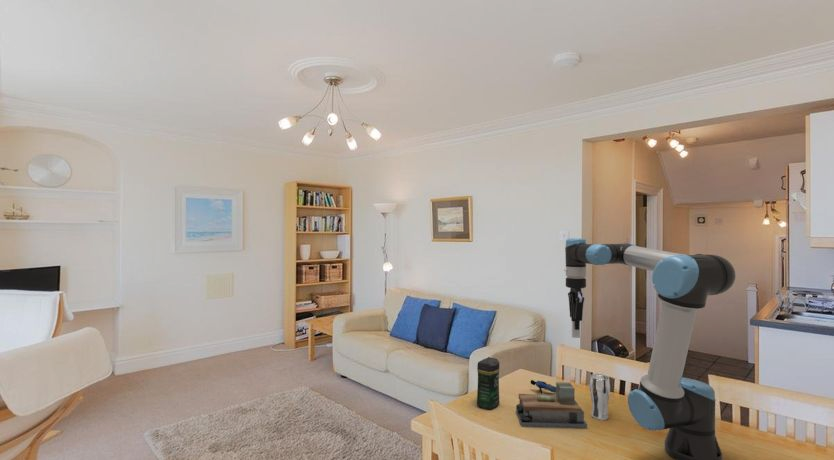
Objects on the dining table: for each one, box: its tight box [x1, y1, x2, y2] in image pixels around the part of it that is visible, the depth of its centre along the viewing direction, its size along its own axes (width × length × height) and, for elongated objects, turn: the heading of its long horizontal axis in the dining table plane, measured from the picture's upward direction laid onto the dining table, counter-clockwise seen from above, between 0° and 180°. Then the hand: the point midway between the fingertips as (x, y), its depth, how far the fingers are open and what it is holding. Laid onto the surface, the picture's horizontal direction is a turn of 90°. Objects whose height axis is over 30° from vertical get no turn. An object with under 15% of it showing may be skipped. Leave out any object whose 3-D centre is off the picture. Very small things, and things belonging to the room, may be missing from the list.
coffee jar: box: [476, 356, 500, 410], centre depth 170 cm, size 10×8×19 cm
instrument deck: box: [518, 381, 582, 413], centre depth 156 cm, size 12×20×8 cm, turn 86°
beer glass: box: [589, 373, 611, 421], centre depth 159 cm, size 7×7×15 cm
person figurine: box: [530, 379, 556, 394], centre depth 181 cm, size 11×4×18 cm
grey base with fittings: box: [515, 401, 588, 429], centre depth 156 cm, size 12×23×5 cm, turn 86°
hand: (575, 337), depth 166 cm, fingers closed
